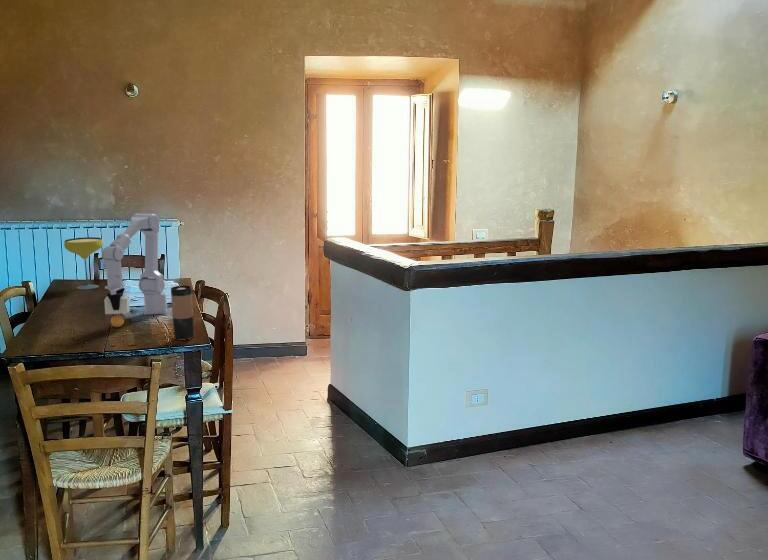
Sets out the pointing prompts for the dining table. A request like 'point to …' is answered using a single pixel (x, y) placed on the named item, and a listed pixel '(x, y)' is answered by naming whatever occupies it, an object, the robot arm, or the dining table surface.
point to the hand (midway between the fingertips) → (117, 308)
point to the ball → (117, 321)
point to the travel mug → (182, 312)
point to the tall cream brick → (122, 309)
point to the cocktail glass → (84, 252)
